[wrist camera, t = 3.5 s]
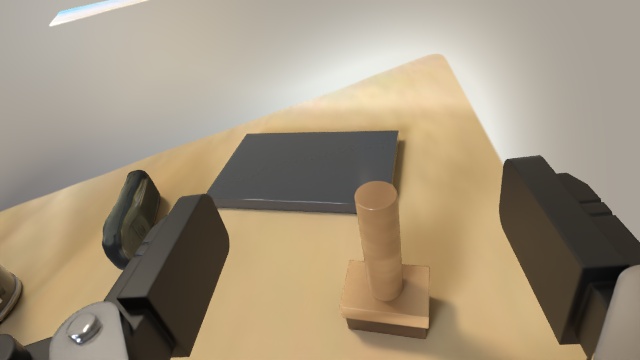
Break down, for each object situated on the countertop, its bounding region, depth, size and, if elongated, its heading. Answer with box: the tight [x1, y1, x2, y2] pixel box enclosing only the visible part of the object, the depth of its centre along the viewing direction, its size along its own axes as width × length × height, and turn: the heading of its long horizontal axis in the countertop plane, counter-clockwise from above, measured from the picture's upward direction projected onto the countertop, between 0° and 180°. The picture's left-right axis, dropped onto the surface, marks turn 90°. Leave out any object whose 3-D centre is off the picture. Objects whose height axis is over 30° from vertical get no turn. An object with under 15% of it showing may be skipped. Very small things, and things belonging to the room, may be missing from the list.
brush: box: [340, 181, 430, 339], centre depth 26 cm, size 6×4×13 cm
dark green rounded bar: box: [102, 170, 160, 270], centre depth 41 cm, size 5×3×15 cm
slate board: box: [206, 131, 399, 214], centre depth 46 cm, size 22×14×2 cm, turn 76°
